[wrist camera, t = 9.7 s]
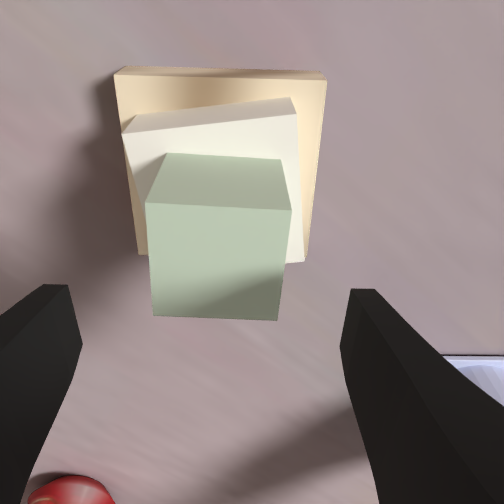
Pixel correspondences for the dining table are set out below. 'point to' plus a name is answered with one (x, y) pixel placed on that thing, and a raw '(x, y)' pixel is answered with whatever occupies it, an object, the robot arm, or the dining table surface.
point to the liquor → (71, 492)
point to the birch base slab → (218, 93)
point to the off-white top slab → (221, 145)
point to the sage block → (217, 236)
